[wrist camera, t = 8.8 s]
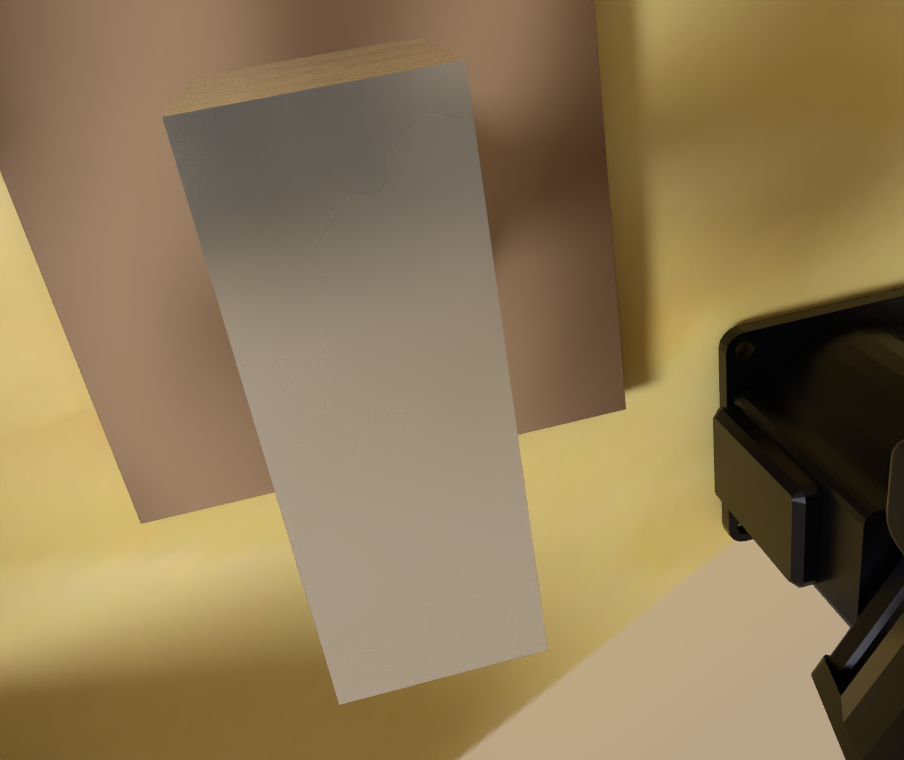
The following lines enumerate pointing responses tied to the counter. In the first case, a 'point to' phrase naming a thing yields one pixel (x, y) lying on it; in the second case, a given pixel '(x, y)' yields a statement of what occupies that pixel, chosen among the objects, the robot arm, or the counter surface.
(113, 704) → the counter surface
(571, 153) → the walnut board
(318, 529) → the t key
